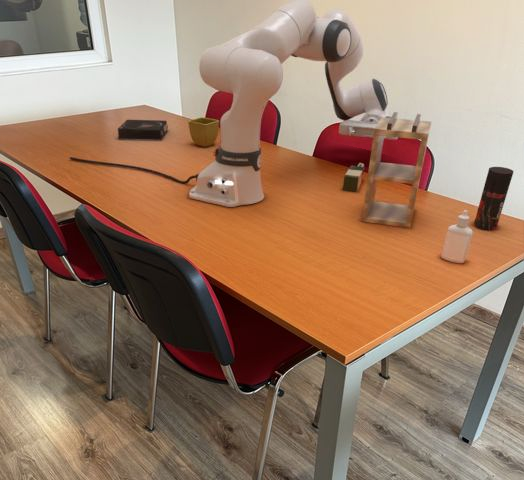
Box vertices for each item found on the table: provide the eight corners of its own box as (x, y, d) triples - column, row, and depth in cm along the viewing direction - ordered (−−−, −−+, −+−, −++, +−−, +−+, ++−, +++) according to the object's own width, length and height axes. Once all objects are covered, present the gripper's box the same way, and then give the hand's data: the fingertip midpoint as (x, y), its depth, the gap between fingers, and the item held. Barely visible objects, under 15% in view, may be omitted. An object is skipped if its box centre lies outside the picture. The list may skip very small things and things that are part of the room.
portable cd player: (161, 140, 205) (160, 130, 203) (119, 139, 205) (117, 128, 203) (168, 130, 219) (167, 120, 216) (128, 129, 219) (127, 119, 216)
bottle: (356, 191, 161) (358, 177, 158) (342, 190, 162) (344, 175, 159) (366, 173, 176) (368, 160, 174) (353, 172, 177) (355, 158, 175)
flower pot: (220, 144, 202) (219, 120, 197) (206, 149, 196) (205, 124, 191) (202, 141, 206) (201, 117, 201) (188, 145, 200) (187, 121, 195)
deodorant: (494, 231, 137) (511, 175, 128) (471, 226, 140) (486, 170, 131) (498, 224, 141) (515, 169, 132) (476, 220, 144) (491, 165, 135)
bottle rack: (361, 221, 141) (375, 122, 126) (368, 204, 152) (382, 111, 137) (409, 228, 138) (429, 127, 123) (413, 210, 149) (432, 115, 134)
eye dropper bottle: (454, 265, 120) (467, 216, 113) (437, 256, 124) (449, 208, 117) (468, 262, 122) (482, 213, 115) (451, 253, 126) (463, 205, 119)
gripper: (343, 113, 182) (335, 122, 171) (402, 118, 177) (398, 128, 166) (341, 132, 186) (334, 142, 175) (399, 138, 181) (394, 148, 170)
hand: (365, 135), depth 171 cm, fingers open, 8 cm apart
